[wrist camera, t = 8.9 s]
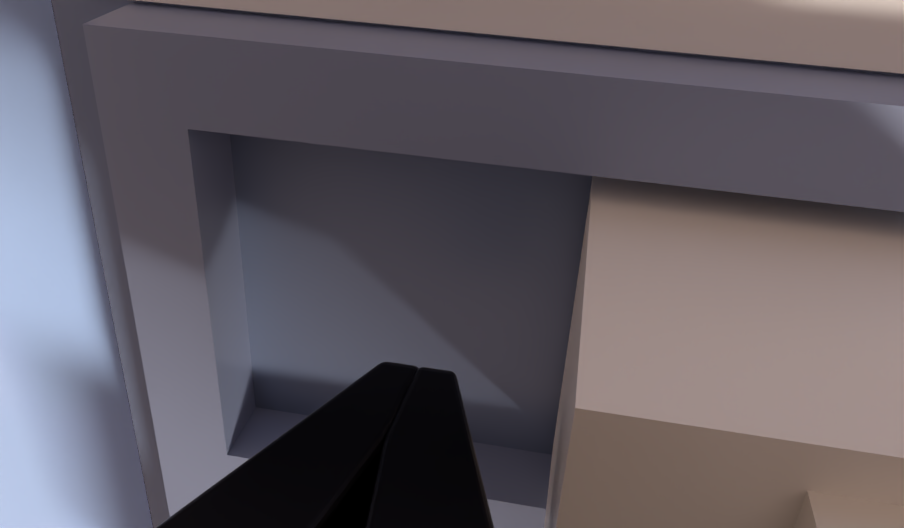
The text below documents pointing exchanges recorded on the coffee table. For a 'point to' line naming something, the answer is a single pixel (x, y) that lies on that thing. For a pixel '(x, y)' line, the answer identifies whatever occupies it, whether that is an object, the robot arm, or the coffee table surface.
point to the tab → (732, 364)
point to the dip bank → (426, 189)
